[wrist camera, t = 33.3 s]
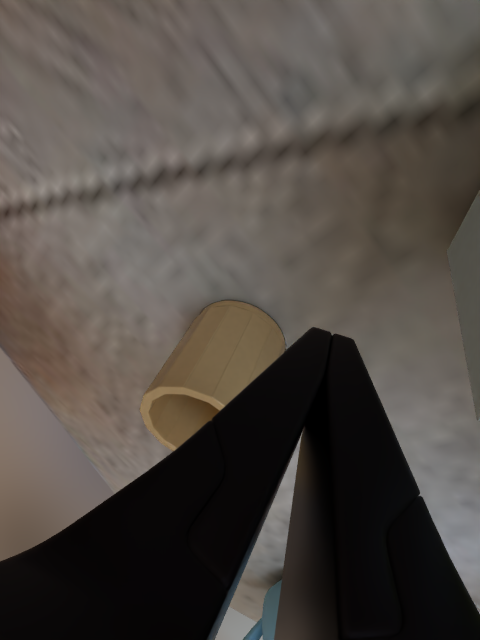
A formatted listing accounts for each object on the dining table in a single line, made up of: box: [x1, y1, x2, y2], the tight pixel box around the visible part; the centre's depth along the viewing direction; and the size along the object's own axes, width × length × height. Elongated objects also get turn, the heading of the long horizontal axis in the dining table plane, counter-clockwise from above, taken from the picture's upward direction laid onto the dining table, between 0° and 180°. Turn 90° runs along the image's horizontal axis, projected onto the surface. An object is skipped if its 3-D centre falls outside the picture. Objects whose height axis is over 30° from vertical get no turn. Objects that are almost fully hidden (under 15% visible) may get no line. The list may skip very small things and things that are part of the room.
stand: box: [140, 300, 285, 451], centre depth 22 cm, size 6×6×7 cm
